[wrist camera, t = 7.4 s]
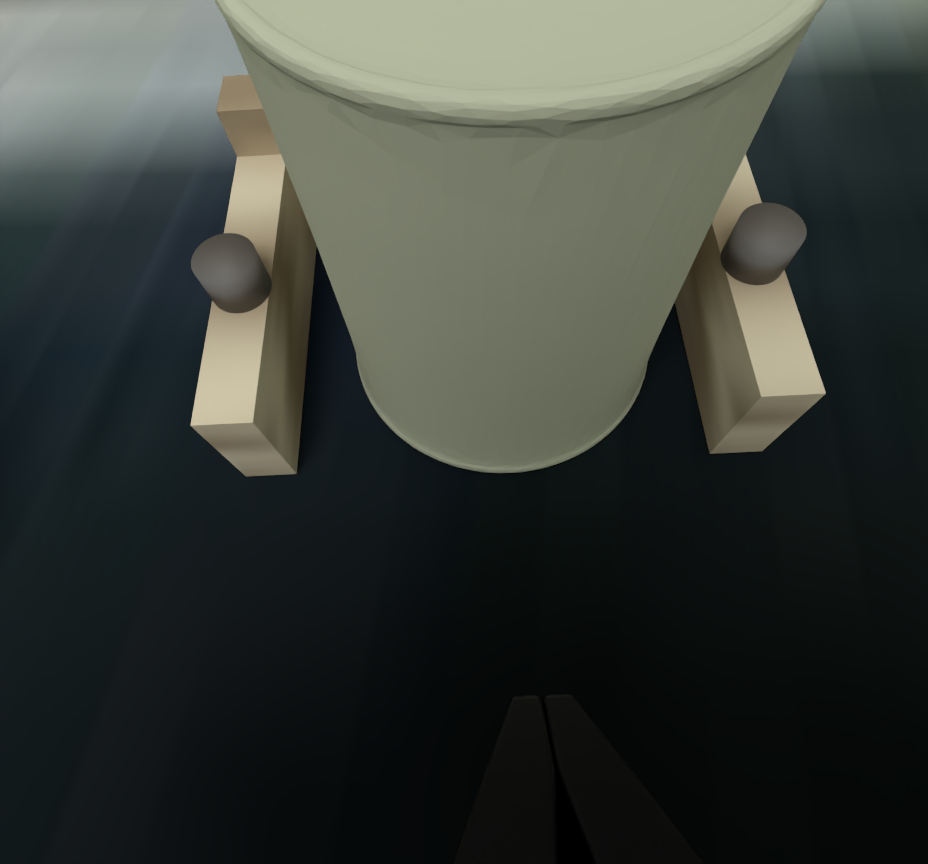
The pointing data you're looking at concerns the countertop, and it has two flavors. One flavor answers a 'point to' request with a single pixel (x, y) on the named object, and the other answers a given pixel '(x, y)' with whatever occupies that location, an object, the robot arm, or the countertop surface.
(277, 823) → the countertop surface
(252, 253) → the frame
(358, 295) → the can
